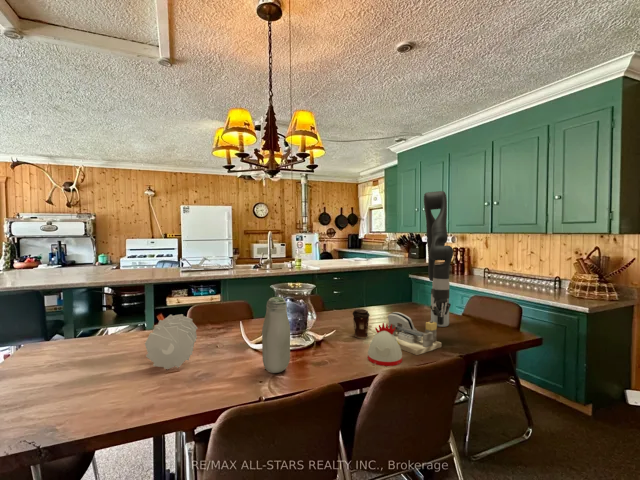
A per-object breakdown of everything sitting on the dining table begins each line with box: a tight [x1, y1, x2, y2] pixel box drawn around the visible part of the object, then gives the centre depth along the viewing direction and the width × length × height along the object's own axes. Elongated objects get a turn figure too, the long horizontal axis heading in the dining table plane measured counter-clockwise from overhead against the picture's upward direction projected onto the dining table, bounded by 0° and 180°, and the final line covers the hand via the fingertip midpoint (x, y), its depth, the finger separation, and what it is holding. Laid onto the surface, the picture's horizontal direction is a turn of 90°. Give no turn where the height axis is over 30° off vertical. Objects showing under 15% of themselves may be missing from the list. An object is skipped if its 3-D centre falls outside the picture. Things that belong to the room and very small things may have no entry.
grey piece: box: [387, 311, 418, 331], centre depth 174 cm, size 17×5×10 cm, turn 28°
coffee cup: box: [352, 308, 370, 339], centre depth 162 cm, size 9×8×13 cm
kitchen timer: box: [367, 322, 403, 367], centre depth 133 cm, size 14×14×15 cm
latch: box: [425, 320, 438, 331], centre depth 149 cm, size 4×3×4 cm
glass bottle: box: [261, 296, 291, 374], centre depth 121 cm, size 10×10×28 cm
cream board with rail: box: [392, 322, 442, 356], centre depth 151 cm, size 17×22×8 cm
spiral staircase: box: [144, 313, 199, 370], centre depth 132 cm, size 18×18×25 cm
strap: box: [396, 325, 425, 337], centre depth 151 cm, size 3×17×1 cm, turn 35°
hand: (440, 324), depth 153 cm, fingers closed
